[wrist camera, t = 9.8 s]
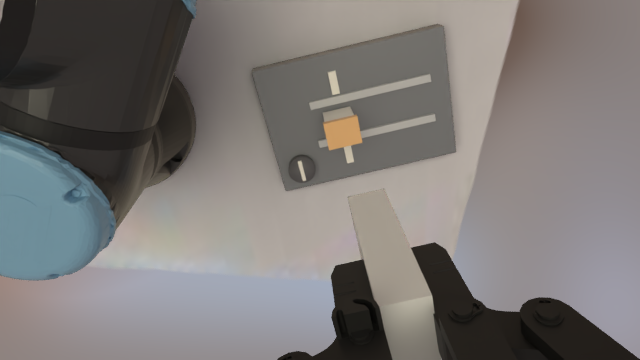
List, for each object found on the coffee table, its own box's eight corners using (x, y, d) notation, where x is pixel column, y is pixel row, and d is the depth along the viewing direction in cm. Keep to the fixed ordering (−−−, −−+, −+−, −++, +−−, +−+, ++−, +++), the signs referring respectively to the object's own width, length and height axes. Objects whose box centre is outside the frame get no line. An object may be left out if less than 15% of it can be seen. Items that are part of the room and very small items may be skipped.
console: (286, 183, 53) (285, 195, 50) (253, 68, 47) (250, 74, 44) (450, 146, 52) (459, 155, 49) (437, 24, 46) (447, 27, 43)
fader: (325, 135, 48) (329, 150, 44) (320, 111, 47) (323, 124, 43) (356, 128, 48) (362, 142, 44) (351, 104, 47) (357, 116, 43)
